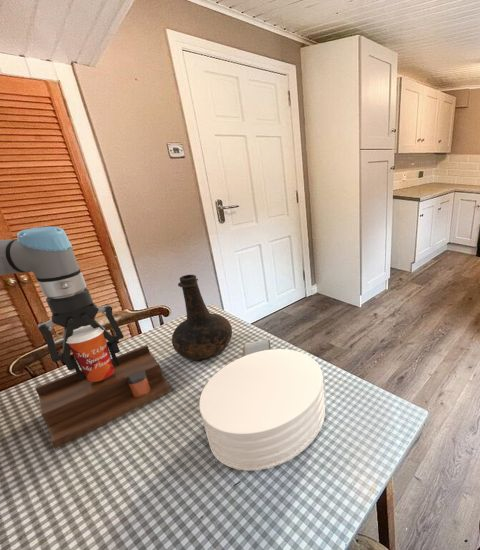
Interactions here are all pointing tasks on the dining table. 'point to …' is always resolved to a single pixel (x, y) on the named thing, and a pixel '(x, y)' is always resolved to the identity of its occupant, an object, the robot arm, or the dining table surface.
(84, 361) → the paper cup
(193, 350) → the glass bottle
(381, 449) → the dining table surface
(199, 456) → the dining table surface
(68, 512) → the dining table surface
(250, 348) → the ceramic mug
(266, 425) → the plate stack
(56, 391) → the spice rack
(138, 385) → the small spice jar
